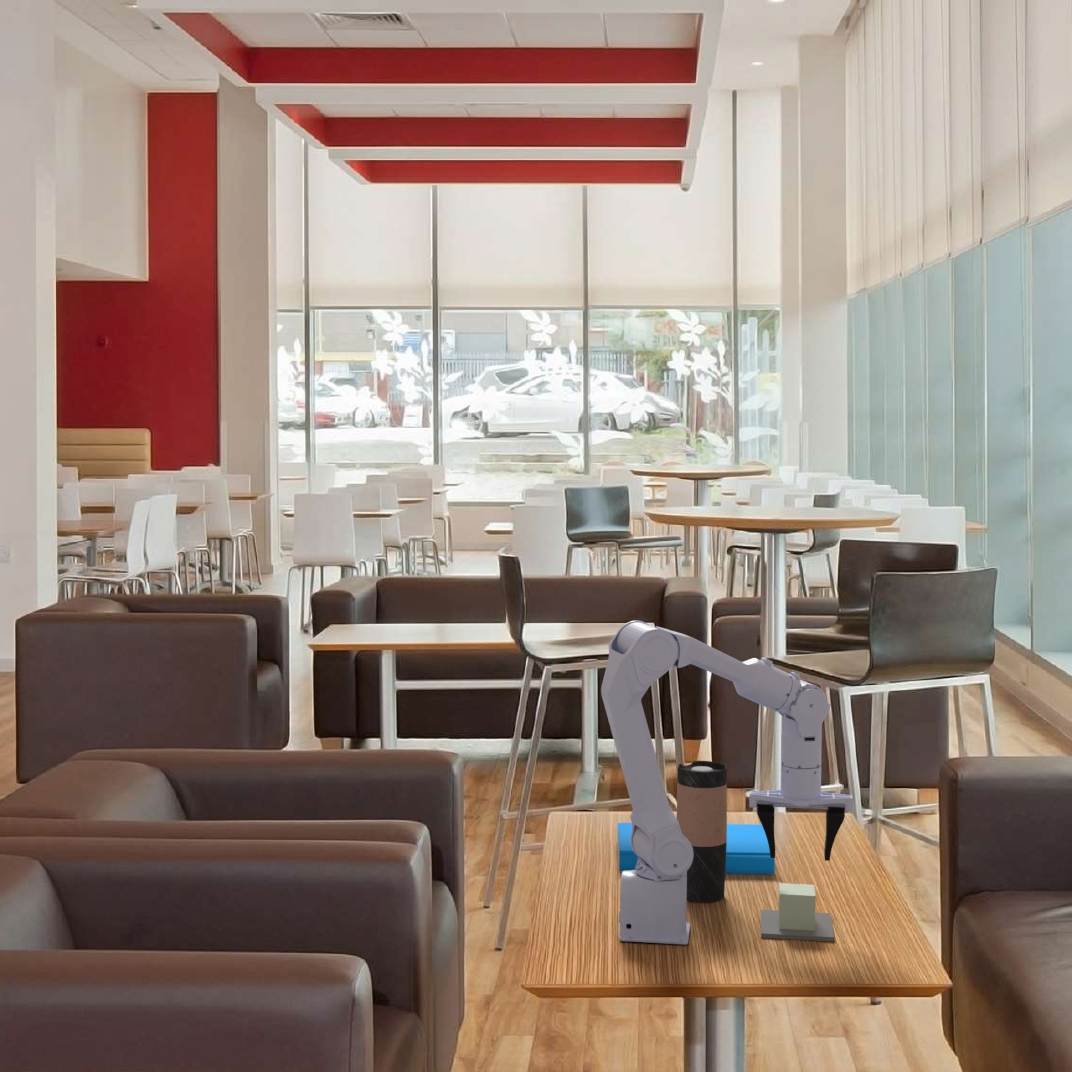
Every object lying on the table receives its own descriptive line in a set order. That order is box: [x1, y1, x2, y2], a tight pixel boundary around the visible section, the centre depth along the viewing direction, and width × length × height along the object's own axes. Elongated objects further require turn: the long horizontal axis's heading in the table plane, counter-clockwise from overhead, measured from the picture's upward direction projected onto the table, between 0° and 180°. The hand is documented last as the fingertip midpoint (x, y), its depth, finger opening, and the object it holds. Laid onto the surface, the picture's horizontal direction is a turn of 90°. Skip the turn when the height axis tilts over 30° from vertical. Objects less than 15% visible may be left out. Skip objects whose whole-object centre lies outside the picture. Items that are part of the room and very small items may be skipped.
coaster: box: [760, 909, 835, 942], centre depth 204 cm, size 10×10×1 cm
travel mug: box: [676, 760, 728, 904], centre depth 217 cm, size 8×8×20 cm
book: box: [617, 822, 776, 875], centre depth 237 cm, size 17×4×25 cm
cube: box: [777, 882, 817, 931], centre depth 203 cm, size 5×5×5 cm
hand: (799, 857), depth 205 cm, fingers open, 7 cm apart
